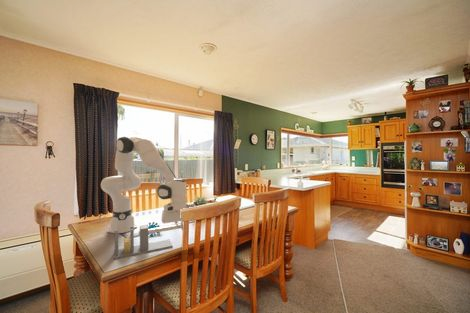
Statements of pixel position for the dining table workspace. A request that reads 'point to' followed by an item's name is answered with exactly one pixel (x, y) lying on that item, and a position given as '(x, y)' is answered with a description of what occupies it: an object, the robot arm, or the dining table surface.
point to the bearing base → (143, 246)
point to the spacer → (126, 245)
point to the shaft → (162, 229)
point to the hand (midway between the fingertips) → (179, 228)
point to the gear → (152, 227)
